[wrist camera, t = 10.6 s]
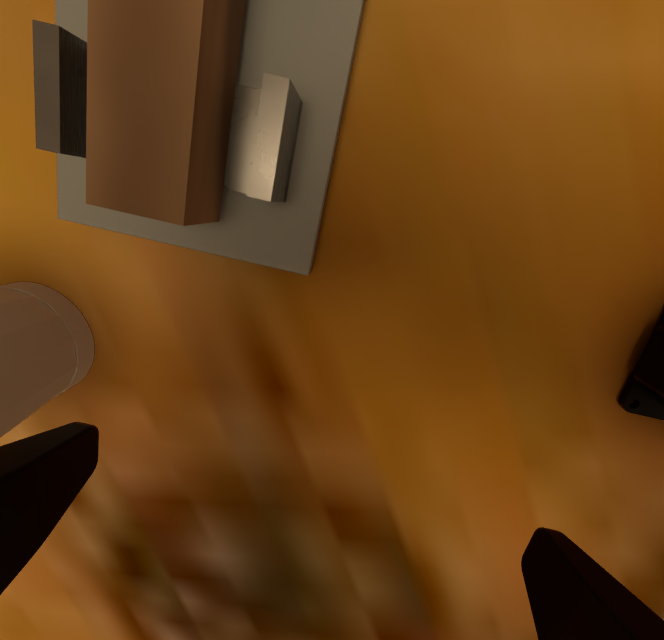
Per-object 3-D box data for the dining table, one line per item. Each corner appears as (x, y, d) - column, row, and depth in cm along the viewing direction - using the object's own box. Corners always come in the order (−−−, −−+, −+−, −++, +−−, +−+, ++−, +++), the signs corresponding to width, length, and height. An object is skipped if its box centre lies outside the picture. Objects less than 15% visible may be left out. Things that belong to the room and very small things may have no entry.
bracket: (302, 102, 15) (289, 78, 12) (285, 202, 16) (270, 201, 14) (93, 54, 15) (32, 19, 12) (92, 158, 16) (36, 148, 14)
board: (411, -232, 13) (416, -267, 12) (310, 271, 18) (308, 275, 17) (73, -310, 13) (50, -351, 12) (73, 217, 18) (57, 218, 17)
